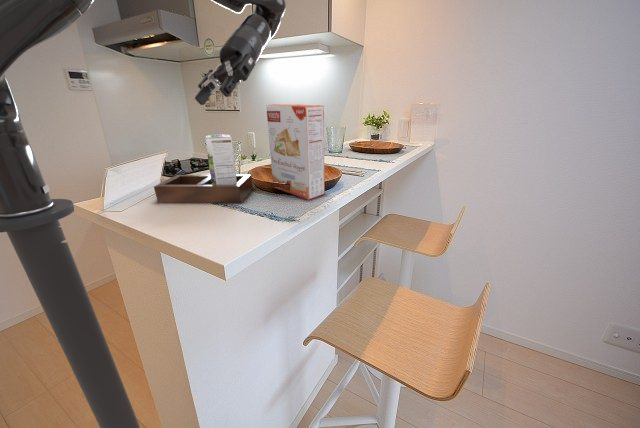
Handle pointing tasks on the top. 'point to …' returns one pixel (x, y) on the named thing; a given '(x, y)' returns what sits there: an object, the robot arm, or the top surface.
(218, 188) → the wooden serving tray
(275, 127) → the cracker box
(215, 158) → the syrup box
